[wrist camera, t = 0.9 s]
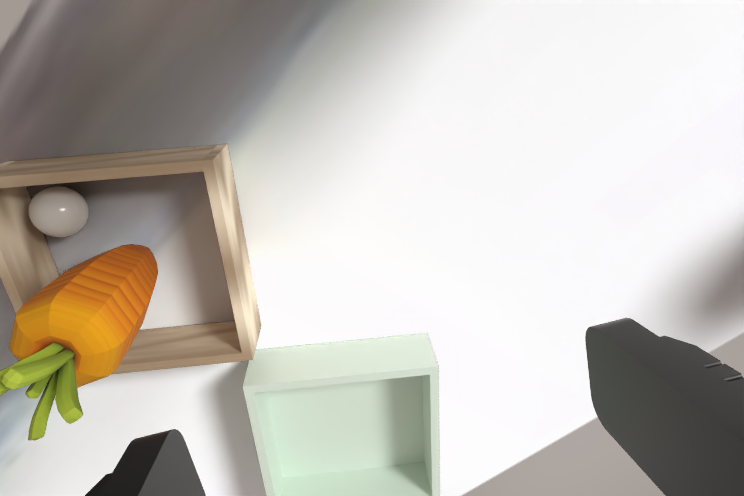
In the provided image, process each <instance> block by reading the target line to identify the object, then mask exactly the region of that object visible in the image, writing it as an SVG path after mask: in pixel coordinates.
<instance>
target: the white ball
mask: <svg viewBox="0 0 744 496" xmlns="http://www.w3.org/2000/svg"><path fill="white" fill-rule="evenodd" d="M29 217H30V220H31V222H32V223H33V225H34V226H35V227H36V228H37V229H38V230H39V231H41V232H43V233H44V234H47V235H49V236H54V237H66V236H70V235H73V234H75V233H77V232H79V231H80V230H81V229H82V228H83V227H84V226H85V224H86V223H87V220H88V217H89V209H88V205H87V203H86V201H85V199H84V198H83V197H82V196H81V195H80V194H79V193H78V192H76V191H74V190H72V189H70V188H67V187H61V186H54V187H48V188H45V189H43V190H41V191H40V192H38V193H37V194H36V195H35V196H34V197H33V198H32V200H31V202H30V205H29Z"/></svg>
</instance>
